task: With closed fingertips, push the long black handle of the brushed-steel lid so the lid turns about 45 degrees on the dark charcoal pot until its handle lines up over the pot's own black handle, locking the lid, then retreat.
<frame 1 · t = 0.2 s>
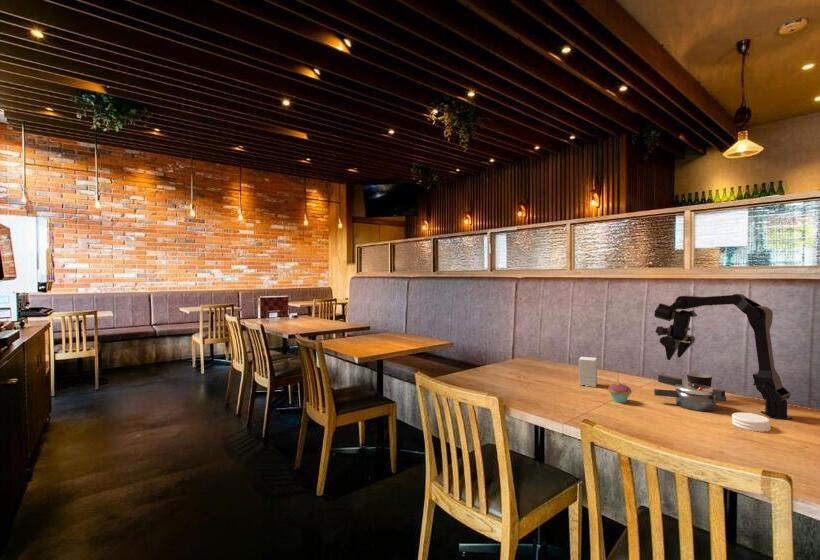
hand: (673, 358, 176), 15 cm above the table, tool pointing down, fingers open, 9 cm apart
lid: (689, 385, 160), point 8 cm above the table, hinge at -45.0°
pot: (695, 406, 158), on the table
cupcake: (619, 401, 166), on the table
supplement box: (588, 385, 191), on the table
coaster: (750, 427, 137), on the table
coffee mug: (699, 398, 169), on the table
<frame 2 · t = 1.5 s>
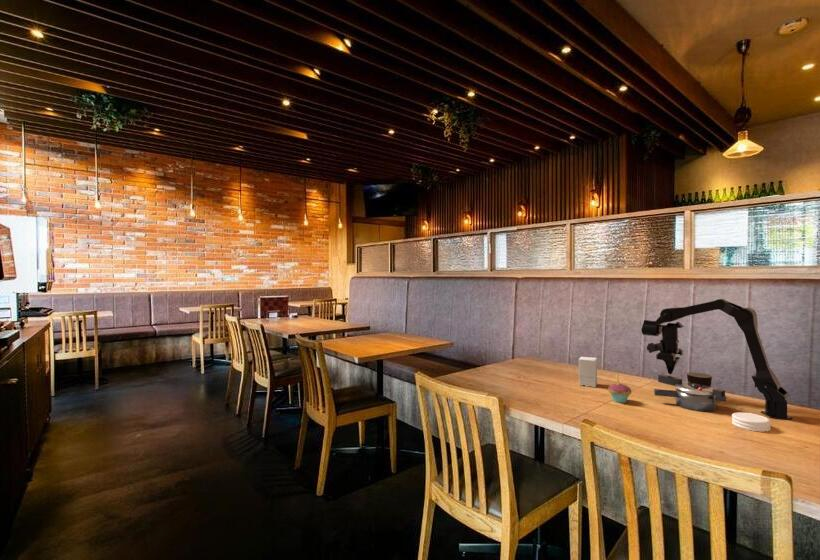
hand: (670, 374, 172), 9 cm above the table, tool pointing down, fingers closed
nothing on the table moved.
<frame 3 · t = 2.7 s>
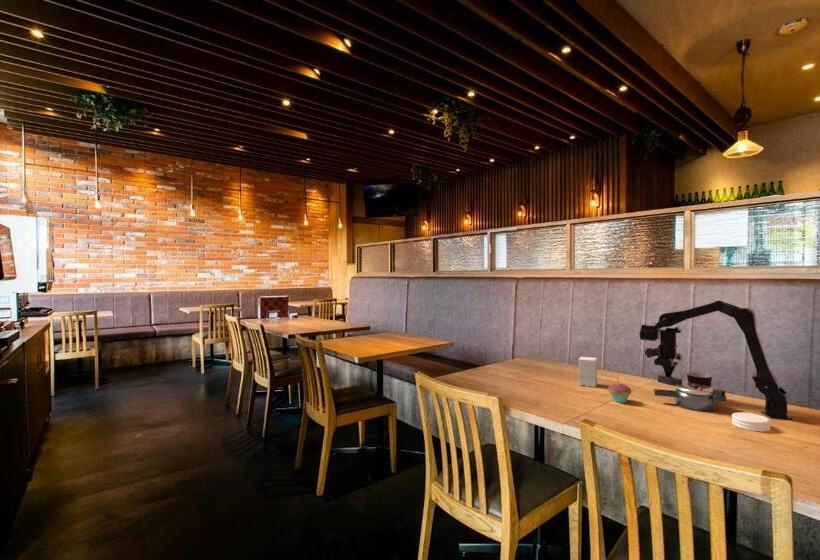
hand: (668, 379, 171), 8 cm above the table, tool pointing down, fingers closed
lid: (689, 385, 160), point 8 cm above the table, hinge at -44.0°, touching gripper
everything else where it was.
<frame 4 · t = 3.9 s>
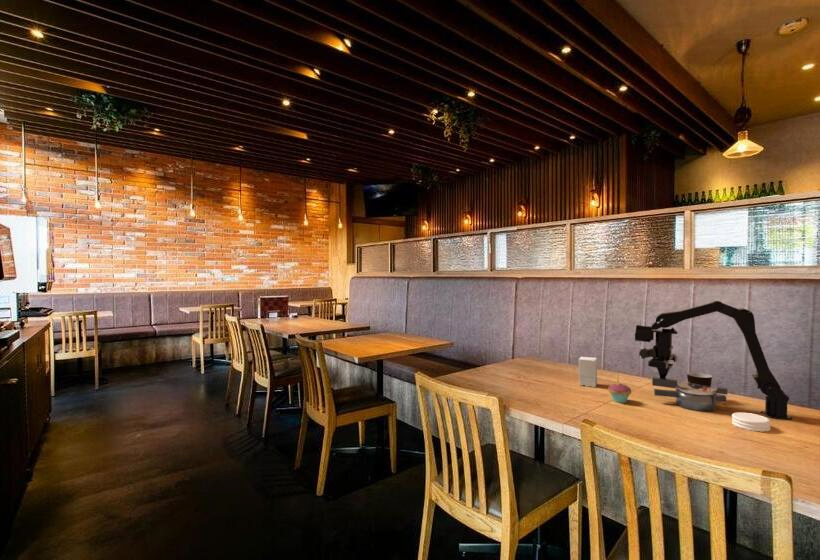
hand: (662, 380, 167), 8 cm above the table, tool pointing down, fingers closed
lid: (688, 385, 160), point 8 cm above the table, hinge at -14.4°, touching gripper
everything else where it was.
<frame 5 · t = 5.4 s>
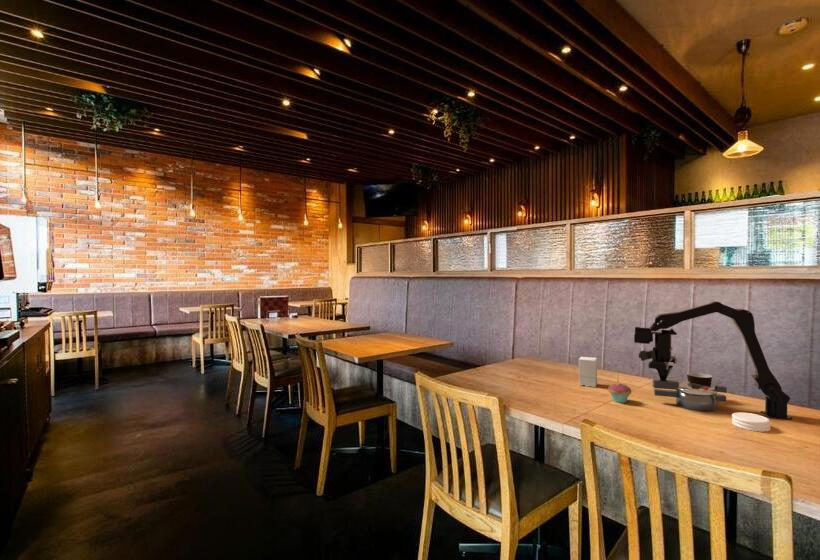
hand: (663, 383, 164), 8 cm above the table, tool pointing down, fingers closed
lid: (688, 386, 159), point 8 cm above the table, hinge at 3.7°
everything else where it was.
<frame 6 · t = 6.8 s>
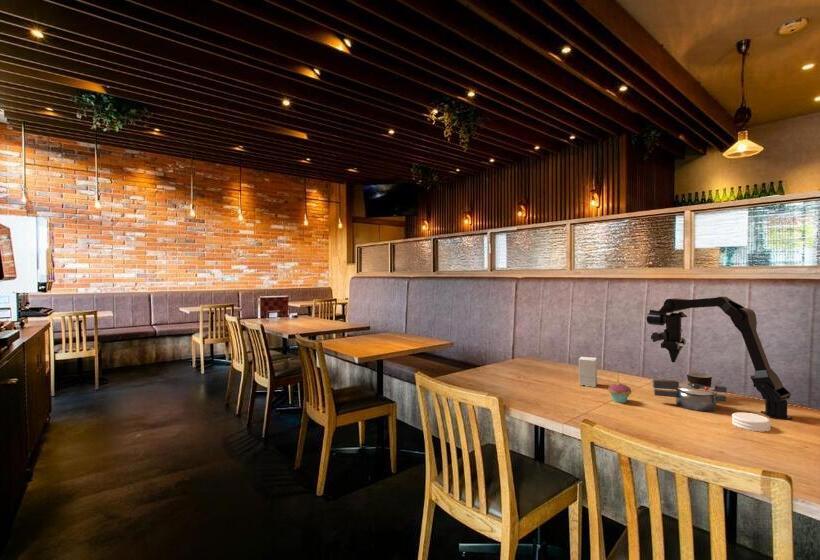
hand: (673, 362, 177), 13 cm above the table, tool pointing down, fingers closed
nothing on the table moved.
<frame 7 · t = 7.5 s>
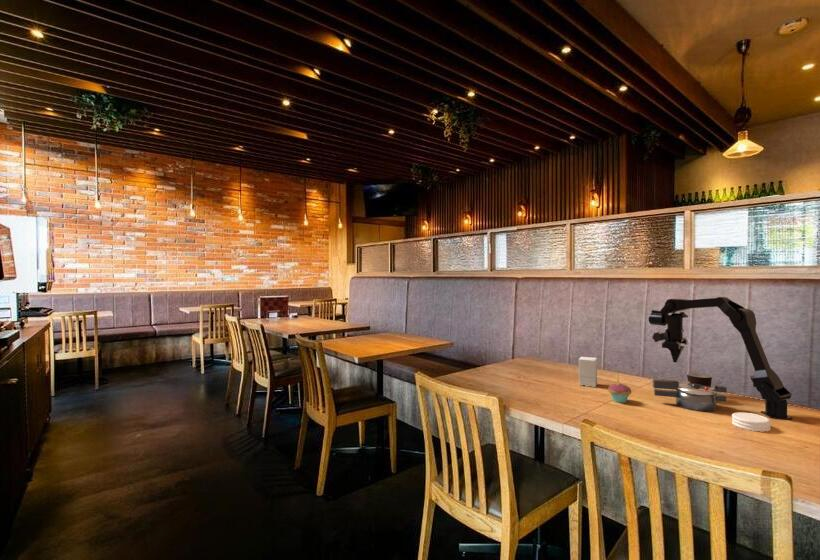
hand: (675, 362, 178), 13 cm above the table, tool pointing down, fingers closed
nothing on the table moved.
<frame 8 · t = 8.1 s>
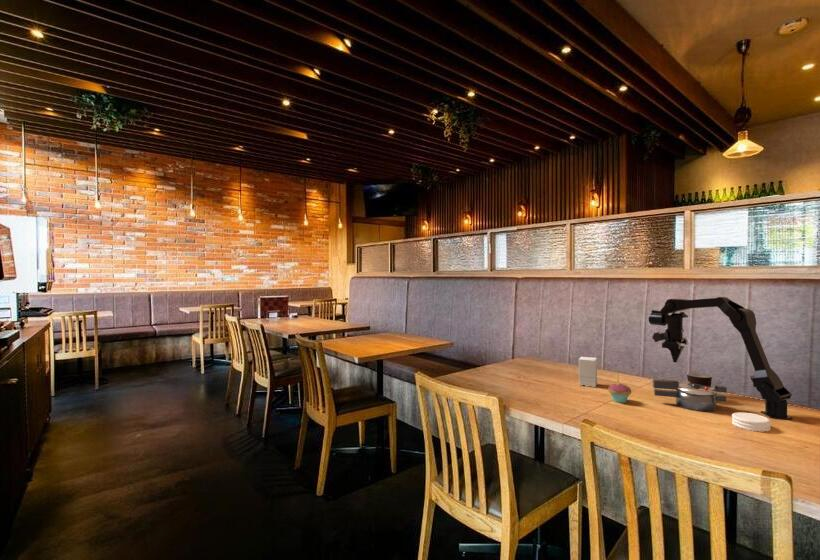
hand: (675, 362, 178), 13 cm above the table, tool pointing down, fingers closed
nothing on the table moved.
at the end: lid at +4° (first picture: -45°) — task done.
